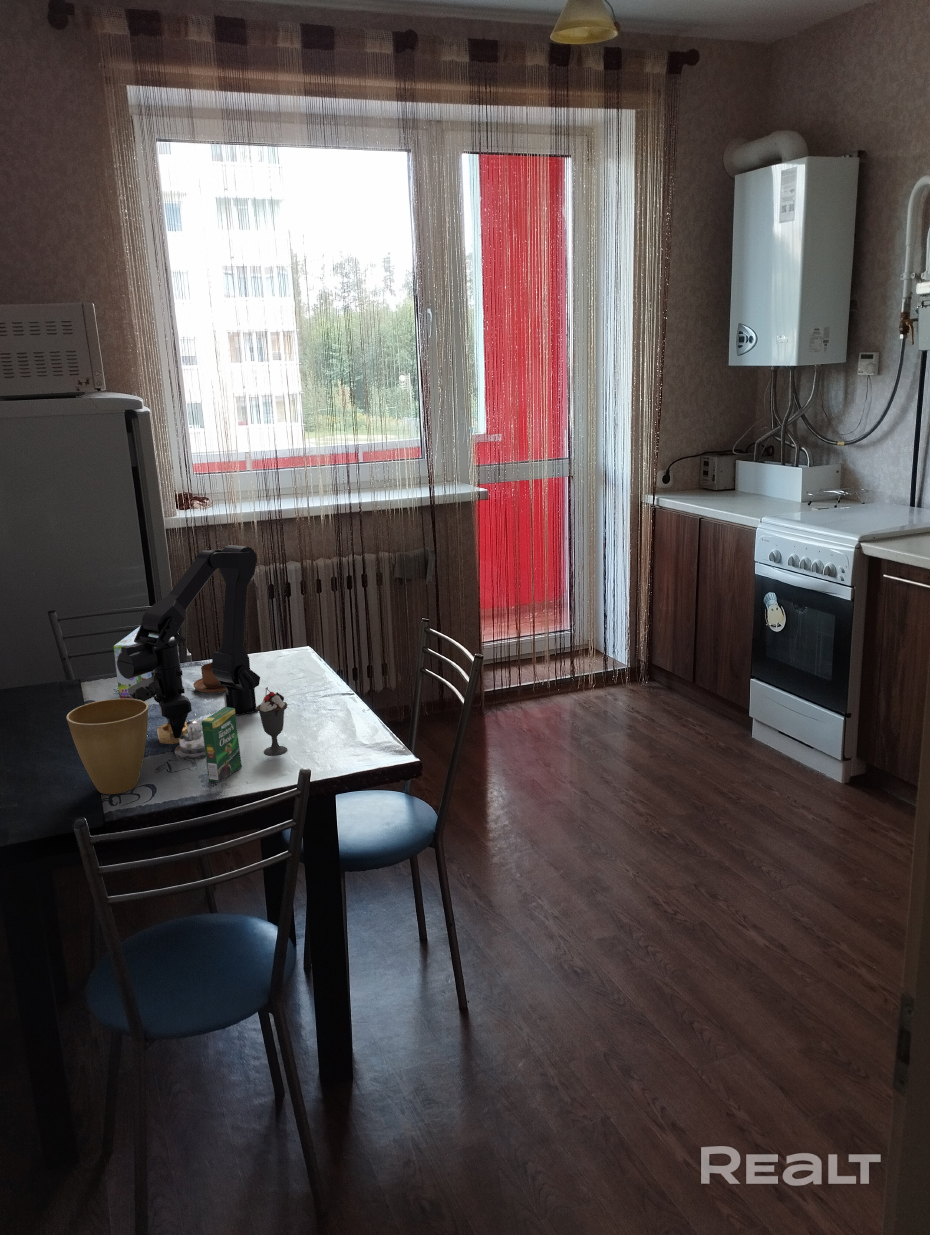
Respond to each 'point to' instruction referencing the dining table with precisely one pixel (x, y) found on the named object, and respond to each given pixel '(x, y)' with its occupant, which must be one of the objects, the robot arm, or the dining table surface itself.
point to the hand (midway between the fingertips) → (174, 732)
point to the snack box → (122, 682)
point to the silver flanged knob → (191, 742)
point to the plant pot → (111, 741)
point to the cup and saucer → (208, 681)
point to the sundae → (273, 720)
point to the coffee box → (221, 744)
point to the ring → (169, 734)
